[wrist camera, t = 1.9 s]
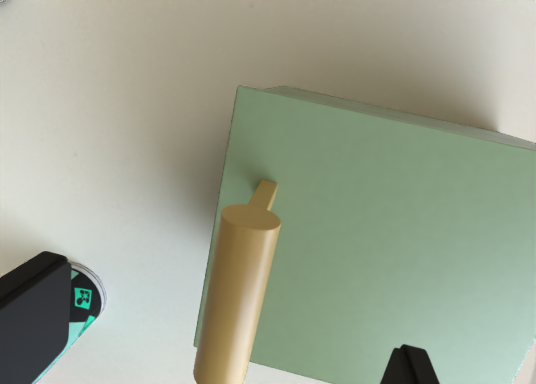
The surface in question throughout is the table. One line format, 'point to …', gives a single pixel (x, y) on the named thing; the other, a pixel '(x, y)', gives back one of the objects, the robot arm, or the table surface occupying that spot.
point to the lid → (366, 247)
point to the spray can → (82, 304)
